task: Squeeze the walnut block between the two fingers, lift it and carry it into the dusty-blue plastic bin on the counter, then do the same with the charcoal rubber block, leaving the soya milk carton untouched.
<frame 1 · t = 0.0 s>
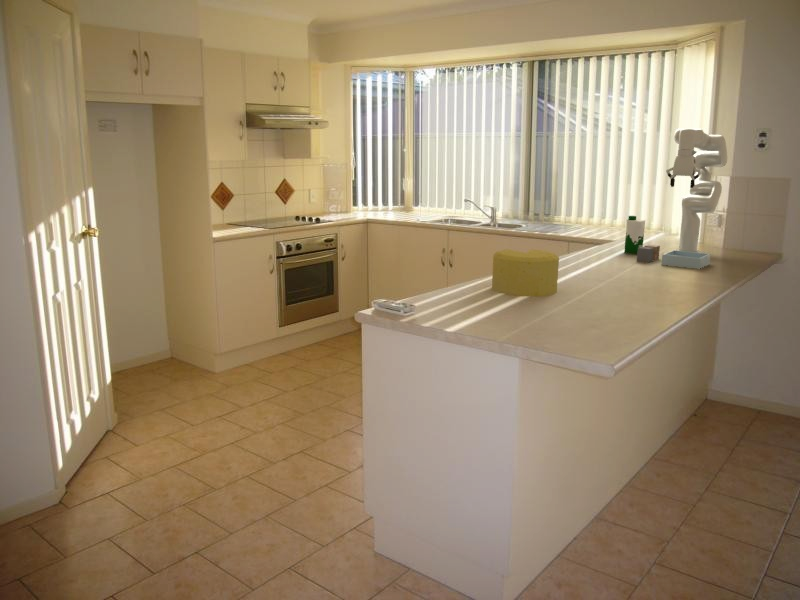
hand: (681, 187, 355), 37 cm above the countertop, tool pointing down, fingers open, 9 cm apart
cheese: (524, 290, 279), on the countertop
charcoal block: (644, 261, 350), on the countertop
soya milk: (633, 253, 376), on the countertop
walnut block: (650, 259, 358), on the countertop
bin: (685, 264, 342), on the countertop
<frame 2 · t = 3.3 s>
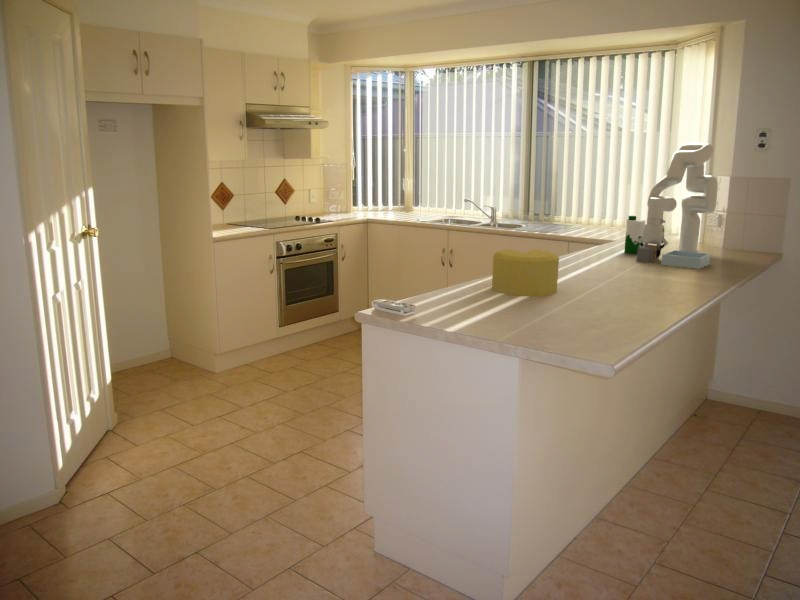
hand: (651, 256, 357), 1 cm above the countertop, tool pointing down, fingers closed on walnut block, 6 cm apart
walnut block: (650, 258, 358), on the countertop, touching gripper
everything else where it was.
when the fingers open (4 cm above the countertop, at t = 8.3 s): walnut block drops 2 cm, resting on bin.
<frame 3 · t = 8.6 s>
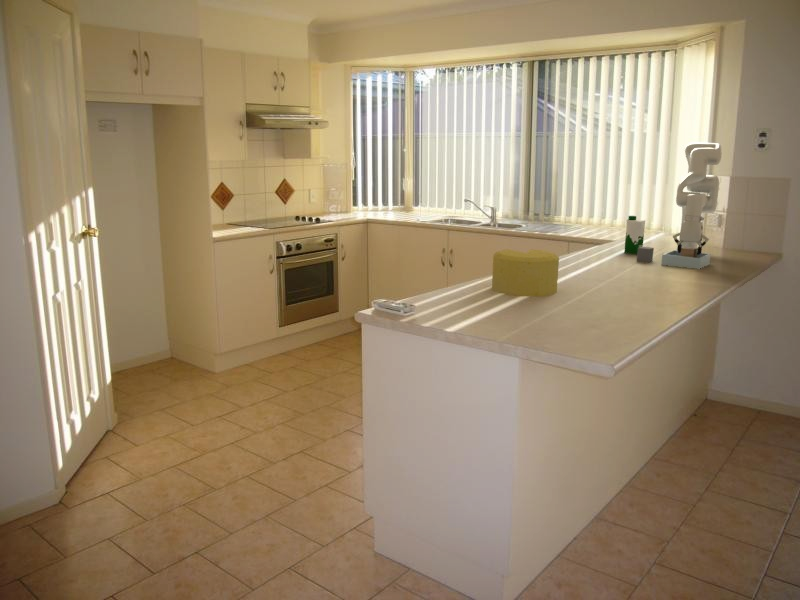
hand: (688, 253, 344), 5 cm above the countertop, tool pointing down, fingers open, 8 cm apart
walnut block: (687, 262, 345), point 1 cm above the countertop, touching bin
everything else where it was.
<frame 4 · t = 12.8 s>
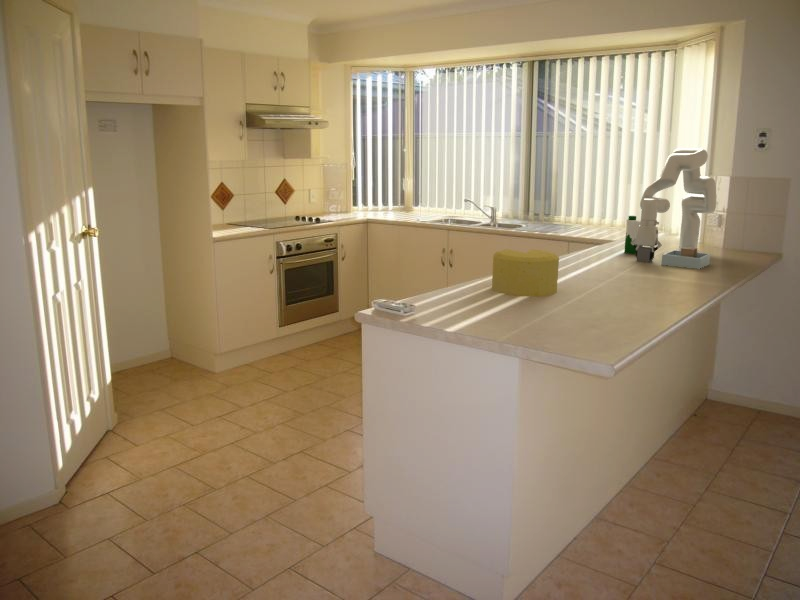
hand: (644, 258, 350), 1 cm above the countertop, tool pointing down, fingers closed on charcoal block, 6 cm apart
charcoal block: (644, 261, 350), on the countertop, touching gripper
everything else where it was.
when the fingers open (4 cm above the countertop, at t = 17.7 s): charcoal block drops 2 cm, resting on bin.
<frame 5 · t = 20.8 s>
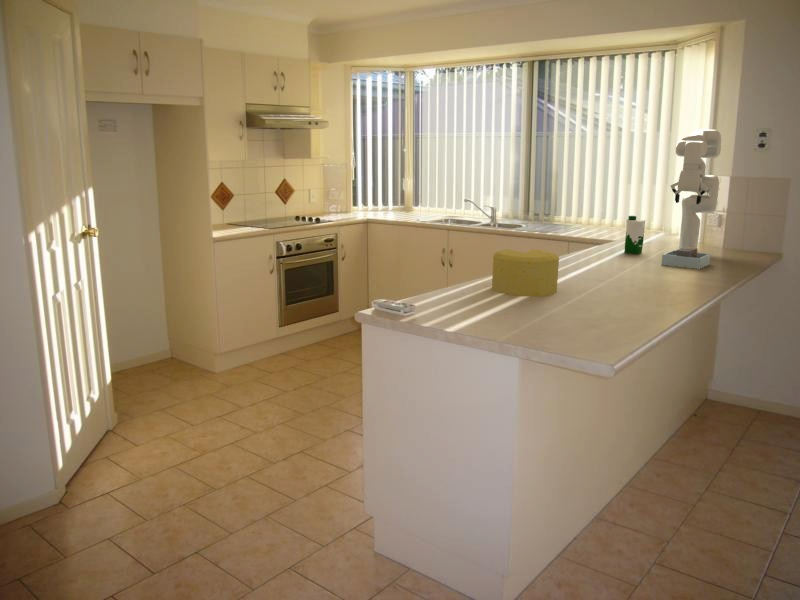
hand: (687, 203, 335), 30 cm above the countertop, tool pointing down, fingers open, 9 cm apart
charcoal block: (683, 264, 339), point 1 cm above the countertop, touching bin
everything else where it was.
at the end: walnut block inside the target area on the bin (4.0 cm from its centre), point 0.8 cm above the bin's base; charcoal block inside the target area on the bin (4.0 cm from its centre), point 0.8 cm above the bin's base; the gripper is holding nothing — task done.
